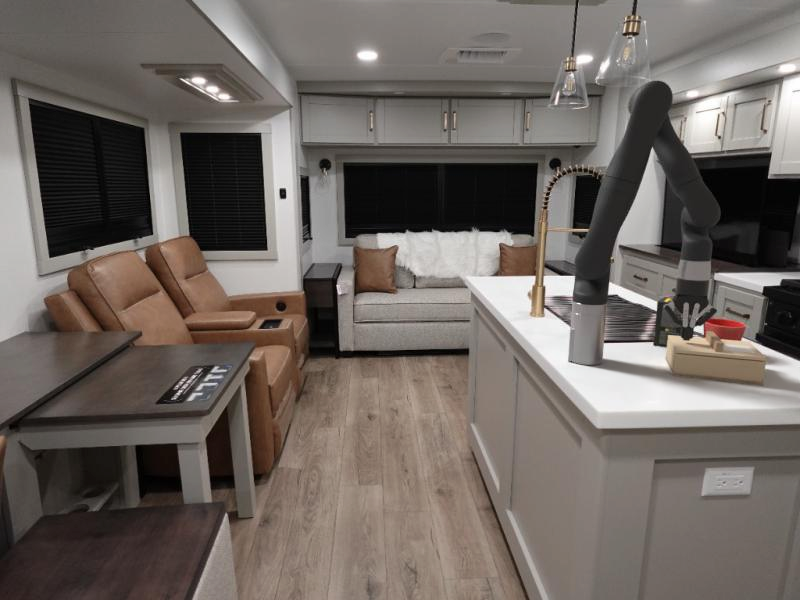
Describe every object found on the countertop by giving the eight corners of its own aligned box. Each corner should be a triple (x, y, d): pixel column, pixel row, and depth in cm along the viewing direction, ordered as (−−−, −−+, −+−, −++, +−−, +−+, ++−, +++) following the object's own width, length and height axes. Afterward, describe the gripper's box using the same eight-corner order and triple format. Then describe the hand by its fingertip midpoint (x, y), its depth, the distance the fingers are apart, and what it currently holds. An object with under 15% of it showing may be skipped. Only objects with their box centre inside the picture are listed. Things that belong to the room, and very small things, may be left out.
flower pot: (733, 349, 157) (738, 319, 155) (747, 361, 147) (751, 328, 145) (695, 347, 160) (699, 316, 158) (705, 357, 149) (709, 325, 147)
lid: (676, 352, 134) (677, 340, 133) (667, 337, 148) (669, 326, 147) (766, 361, 127) (768, 348, 126) (748, 344, 141) (750, 333, 140)
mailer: (673, 375, 135) (676, 353, 134) (665, 358, 149) (667, 338, 148) (762, 384, 128) (766, 362, 127) (745, 366, 142) (748, 345, 141)
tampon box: (660, 338, 170) (665, 294, 167) (692, 343, 164) (697, 298, 161) (652, 345, 161) (656, 300, 158) (684, 351, 156) (690, 304, 153)
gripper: (667, 277, 134) (660, 341, 138) (725, 280, 130) (717, 346, 134) (663, 273, 141) (657, 334, 145) (718, 276, 137) (710, 338, 140)
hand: (686, 339), depth 139 cm, fingers closed
